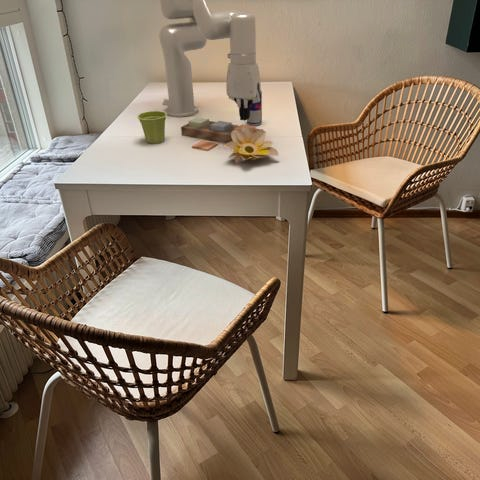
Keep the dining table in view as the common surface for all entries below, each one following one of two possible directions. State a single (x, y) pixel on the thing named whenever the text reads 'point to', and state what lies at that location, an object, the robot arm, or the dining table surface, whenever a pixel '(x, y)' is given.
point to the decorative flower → (250, 145)
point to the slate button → (221, 126)
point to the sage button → (199, 122)
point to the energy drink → (255, 113)
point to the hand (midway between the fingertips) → (244, 119)
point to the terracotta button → (245, 126)
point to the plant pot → (153, 125)
